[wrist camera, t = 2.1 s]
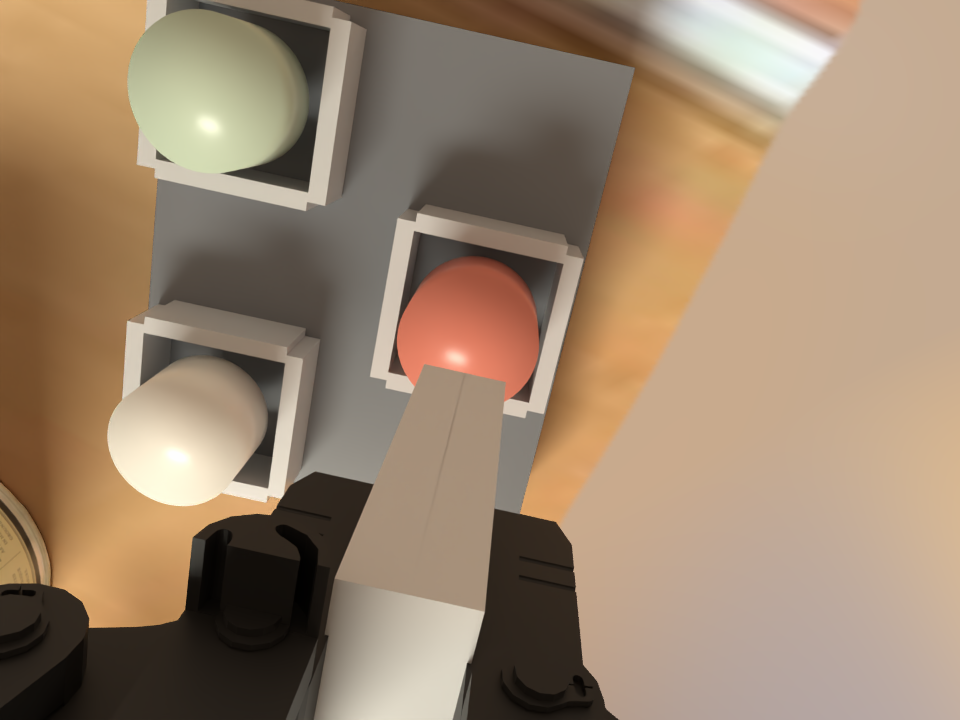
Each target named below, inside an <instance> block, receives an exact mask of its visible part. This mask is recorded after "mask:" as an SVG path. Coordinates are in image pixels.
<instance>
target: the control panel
mask: <svg viewBox="0 0 960 720" xmlns="http://www.w3.org/2000/svg"><path fill="white" fill-rule="evenodd" d="M188 9H204V10H210V11H214V12H218V13H221V14H224V15H227V16H230V17H233V18H237V19H240V20H243V21H246V22H249V23H252V24H255V25H259V26H261V27H263V28H265V29H267V30H269V31H270V32H272V33H274V34H275V35H277V36H278V37H279V38H280V39H281V40H283V41H284V42H285V43H286V44H287V45H288V46H289V48H290V49H291V50H292V51H293V53H294V54H295V55H296V57H297V59H298V61H299V62H300V64H301V66H302V69H303V71H304V73H305V76H306V80H307V84H308V89H309V112H308V117H307V121H306V124H305V127H304V130H303V132H302V134H301V136H300V137H299V139H298V140H297V142H296V143H295V144H294V145H293V147H292V148H291V149H290V150H289V151H288V152H286V153H285V154H284V155H283V156H281V157H279V158H278V159H276V160H274V161H271V162H269V163H266V164H262V165H258V166H253V167H249V168H244V169H239V170H235V171H230V172H225V173H217V174H215V173H201V172H196V171H192V170H189V169H186V168H184V167H182V166H179V165H177V164H176V163H174V162H172V161H170V160H169V159H168V158H166V157H165V156H164V155H162V154H161V153H160V152H159V151H158V150H157V149H156V148H155V147H154V146H153V145H152V144H151V143H150V142H149V140H148V139H147V138H146V137H145V135H144V134H143V132H142V131H141V129H140V127H139V139H138V155H137V165H141V166H146V167H150V168H155V177H154V178H158V183H157V197H156V211H155V225H154V239H153V253H152V267H151V281H150V295H149V309H148V310H147V311H145V312H143V313H141V314H139V315H137V316H135V317H134V318H132V319H130V320H128V321H127V331H126V347H125V363H124V379H123V395H122V400H123V399H124V398H125V397H126V396H128V395H129V394H130V393H132V392H133V391H134V390H136V389H137V388H138V387H140V386H141V385H143V384H144V383H145V382H147V381H148V380H149V379H151V378H152V377H154V376H155V375H156V374H158V373H159V372H160V371H162V370H163V369H165V368H166V367H167V366H169V365H170V364H172V363H173V362H175V361H177V360H179V359H182V358H184V357H189V356H195V355H208V356H215V357H219V358H222V359H225V360H227V361H230V362H232V363H233V364H235V365H237V366H238V367H240V368H241V369H243V370H244V371H245V372H246V373H247V374H248V375H250V376H251V378H252V379H253V380H254V381H255V382H256V384H257V385H258V387H259V388H260V390H261V392H262V394H263V396H264V399H265V401H266V405H267V410H268V426H267V431H266V434H265V436H264V439H263V440H262V442H261V444H260V445H259V447H258V448H257V449H256V451H255V452H254V453H253V454H252V456H251V457H250V458H249V460H248V461H247V462H246V463H245V465H244V466H243V467H242V469H241V470H240V471H239V472H238V474H237V475H236V476H235V478H234V479H233V480H232V481H231V483H230V484H229V485H228V487H227V488H226V489H225V490H224V491H223V492H222V493H223V494H228V495H233V496H237V497H242V498H247V499H252V500H256V501H261V502H267V501H268V499H269V498H270V496H271V497H276V498H281V499H282V497H283V495H284V494H285V492H286V491H287V489H288V488H289V486H290V485H291V484H293V483H295V482H297V481H298V480H300V479H302V478H304V477H306V476H308V475H309V474H311V473H313V472H315V471H316V472H321V473H325V474H330V475H334V476H339V477H343V478H348V479H352V480H357V481H361V482H366V483H370V484H374V483H375V481H376V478H377V476H378V473H379V471H380V469H381V466H382V464H383V462H384V459H385V457H386V454H387V452H388V450H389V447H390V445H391V442H392V440H393V438H394V435H395V433H396V430H397V428H398V426H399V423H400V421H401V419H402V416H403V414H404V411H405V409H406V407H407V404H408V402H409V399H410V397H411V395H412V392H413V390H414V388H415V386H414V385H413V384H412V383H411V381H410V380H409V379H408V377H407V375H406V374H405V372H404V370H403V368H402V365H401V362H400V359H399V355H398V349H397V334H398V328H399V324H400V320H401V318H402V315H403V313H404V311H405V309H406V308H407V306H408V304H409V302H410V301H411V299H412V297H413V295H414V294H415V292H416V290H417V289H418V287H419V285H420V283H421V282H422V281H423V279H424V278H425V277H426V276H427V275H428V274H429V273H430V272H431V271H432V270H433V269H435V268H436V267H437V266H439V265H441V264H443V263H444V262H447V261H449V260H452V259H455V258H459V257H465V256H481V257H487V258H491V259H494V260H497V261H499V262H501V263H503V264H505V265H507V266H508V267H510V268H511V269H513V270H514V271H515V272H516V273H517V274H518V275H519V276H520V277H521V278H522V279H523V280H524V281H525V283H526V284H527V286H528V287H529V289H530V291H531V293H532V295H533V298H534V301H535V305H536V310H537V321H538V334H539V353H538V358H537V362H536V365H535V368H534V370H533V372H532V375H531V377H530V378H529V380H528V381H527V383H526V384H525V385H524V386H523V387H522V389H521V390H520V391H519V392H518V393H516V394H515V395H514V396H513V397H511V398H510V399H508V400H507V401H505V402H504V408H503V419H502V430H501V440H500V451H499V462H498V473H497V484H496V495H495V506H494V508H495V509H499V510H504V511H508V512H513V513H517V514H520V510H521V507H522V503H523V499H524V495H525V491H526V487H527V483H528V480H529V476H530V472H531V468H532V464H533V460H534V456H535V453H536V449H537V445H538V441H539V437H540V433H541V429H542V426H543V422H544V418H545V414H546V410H547V406H548V402H549V398H550V395H551V391H552V387H553V383H554V379H555V375H556V371H557V368H558V364H559V360H560V356H561V352H562V348H563V344H564V341H565V337H566V333H567V329H568V325H569V321H570V317H571V314H572V310H573V306H574V302H575V298H576V294H577V290H578V286H579V283H580V279H581V275H582V271H583V267H584V263H585V259H586V256H587V252H588V248H589V244H590V240H591V236H592V232H593V229H594V225H595V221H596V217H597V213H598V209H599V205H600V202H601V198H602V194H603V190H604V186H605V182H606V178H607V174H608V171H609V167H610V163H611V159H612V155H613V151H614V147H615V144H616V140H617V136H618V132H619V128H620V124H621V120H622V117H623V113H624V109H625V105H626V101H627V97H628V93H629V90H630V86H631V82H632V78H633V74H634V70H635V68H634V67H629V66H625V65H620V64H616V63H611V62H607V61H602V60H598V59H594V58H589V57H585V56H580V55H576V54H571V53H567V52H562V51H558V50H553V49H549V48H545V47H540V46H536V45H531V44H527V43H522V42H518V41H513V40H509V39H504V38H500V37H496V36H491V35H487V34H482V33H478V32H473V31H469V30H464V29H460V28H456V27H451V26H447V25H442V24H438V23H433V22H429V21H424V20H420V19H415V18H411V17H407V16H402V15H398V14H393V13H389V12H384V11H380V10H375V9H371V8H366V7H362V6H358V5H353V4H349V3H344V2H340V1H335V0H147V11H146V27H145V31H146V30H147V29H148V28H149V27H150V26H151V25H153V24H154V23H155V22H156V21H158V20H159V19H161V18H162V17H165V16H167V15H169V14H171V13H174V12H177V11H181V10H188Z"/></svg>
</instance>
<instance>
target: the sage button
mask: <svg viewBox="0 0 960 720" xmlns="http://www.w3.org/2000/svg"><path fill="white" fill-rule="evenodd" d="M128 94H129V100H130V104H131V108H132V111H133V114H134V117H135V119H136V121H137V123H138V125H139V127H140V129H141V131H142V132H143V134H144V135H145V137H146V138H147V139H148V140H149V142H150V143H151V144H152V145H153V146H154V147H155V148H156V149H157V150H158V151H159V152H160V153H161V154H162V155H164V156H165V157H166V158H168V159H169V160H170V161H172V162H174V163H176V164H177V165H179V166H182V167H184V168H186V169H189V170H192V171H196V172H201V173H215V174H217V173H225V172H230V171H235V170H239V169H244V168H249V167H253V166H258V165H262V164H266V163H269V162H271V161H274V160H276V159H278V158H279V157H281V156H283V155H284V154H285V153H286V152H288V151H289V150H290V149H291V148H292V147H293V145H294V144H295V143H296V142H297V140H298V139H299V137H300V136H301V134H302V132H303V130H304V127H305V124H306V121H307V117H308V112H309V89H308V84H307V80H306V76H305V73H304V71H303V69H302V66H301V64H300V62H299V61H298V59H297V57H296V55H295V54H294V53H293V51H292V50H291V49H290V48H289V46H288V45H287V44H286V43H285V42H284V41H283V40H281V39H280V38H279V37H278V36H277V35H275V34H274V33H272V32H270V31H269V30H267V29H265V28H263V27H261V26H259V25H255V24H252V23H249V22H246V21H243V20H240V19H237V18H233V17H230V16H227V15H224V14H221V13H218V12H214V11H210V10H204V9H188V10H181V11H177V12H174V13H171V14H169V15H167V16H165V17H162V18H161V19H159V20H158V21H156V22H155V23H154V24H153V25H151V26H150V27H149V28H148V29H147V30H146V31H145V33H144V34H143V35H142V37H141V38H140V39H139V41H138V43H137V45H136V46H135V49H134V51H133V54H132V56H131V60H130V64H129V69H128Z"/></svg>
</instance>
